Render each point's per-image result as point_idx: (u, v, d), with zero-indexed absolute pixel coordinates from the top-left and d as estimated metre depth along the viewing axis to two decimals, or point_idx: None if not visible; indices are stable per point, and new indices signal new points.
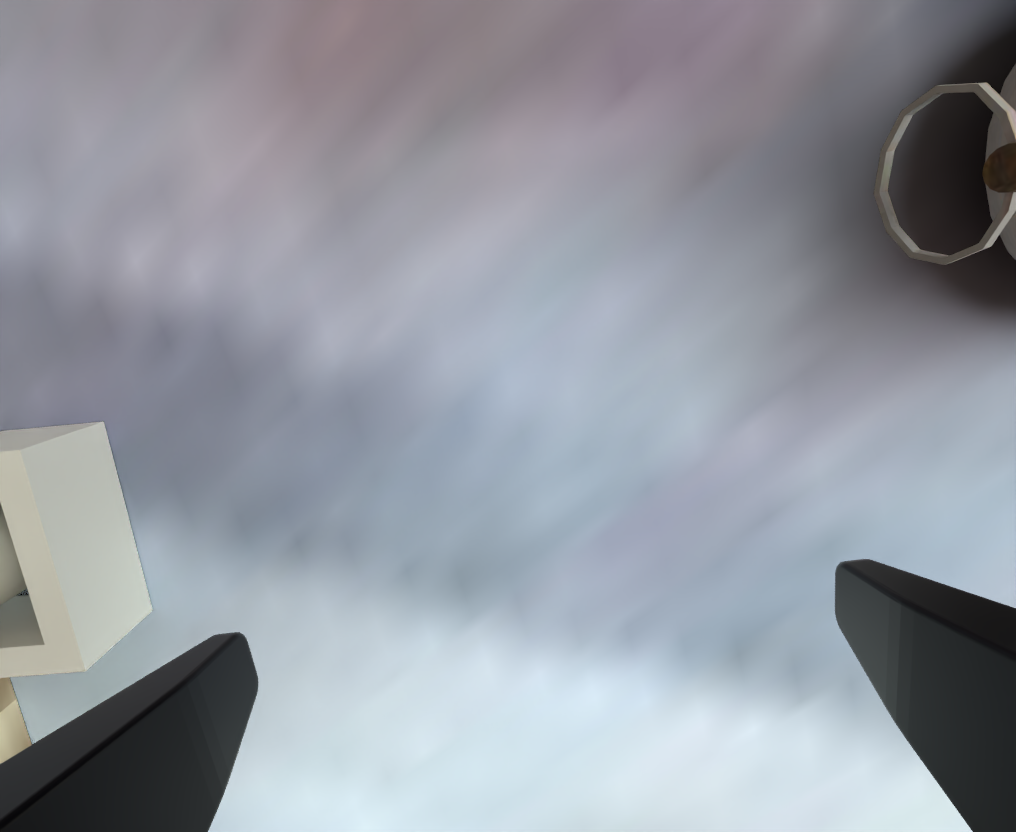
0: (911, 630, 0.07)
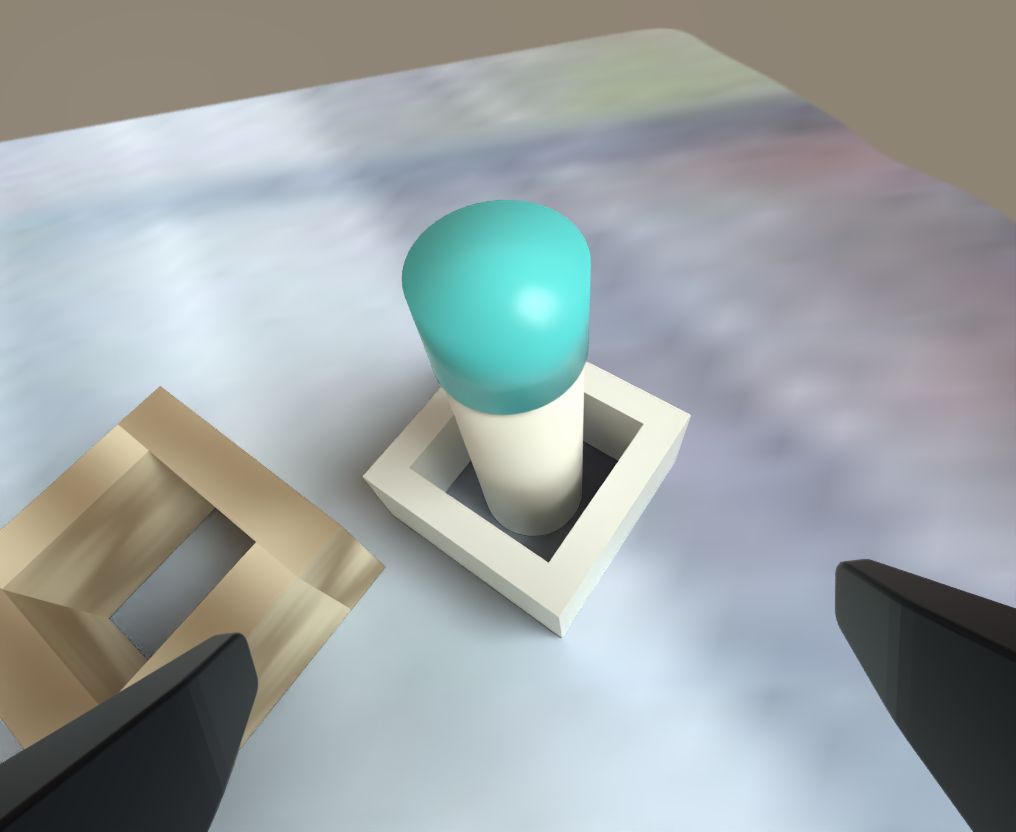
0: (911, 630, 0.07)
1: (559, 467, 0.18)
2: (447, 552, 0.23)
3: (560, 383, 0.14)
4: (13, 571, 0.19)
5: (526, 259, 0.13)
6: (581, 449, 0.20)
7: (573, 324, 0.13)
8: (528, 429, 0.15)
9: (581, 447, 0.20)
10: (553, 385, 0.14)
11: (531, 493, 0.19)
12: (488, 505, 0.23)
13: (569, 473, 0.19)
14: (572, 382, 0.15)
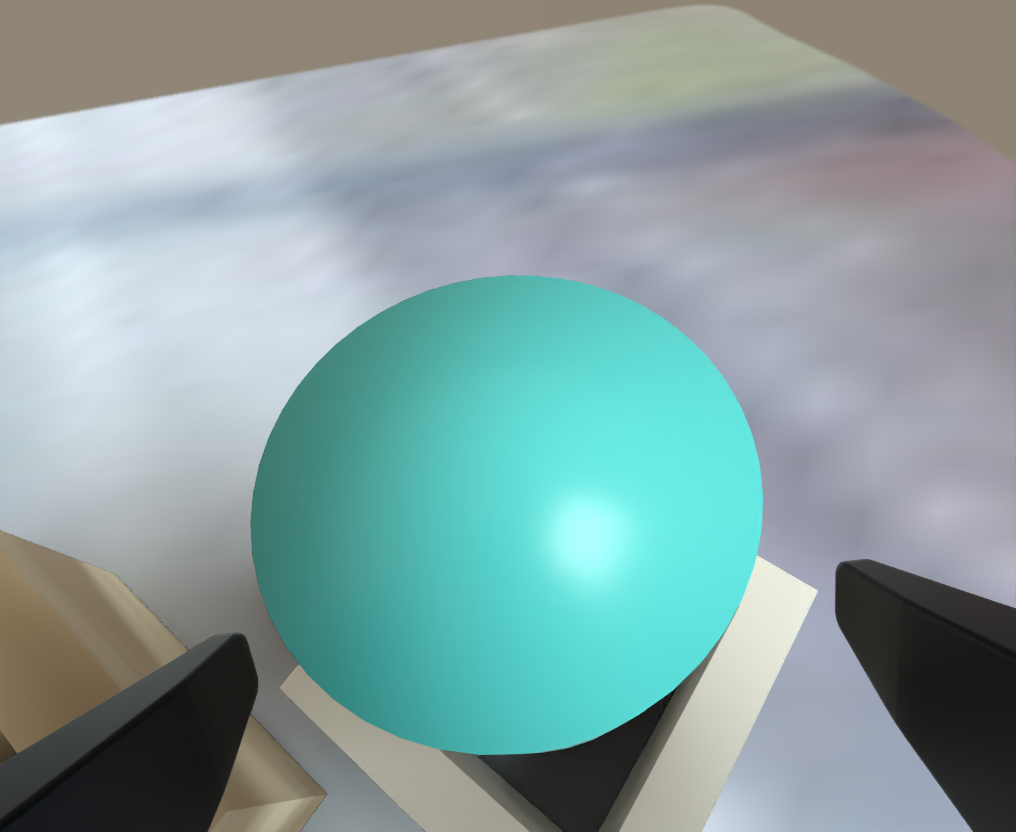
0: (911, 630, 0.07)
1: None
2: None
3: None
4: None
5: (581, 448, 0.05)
6: None
7: None
8: None
9: None
10: None
11: None
12: None
13: None
14: None
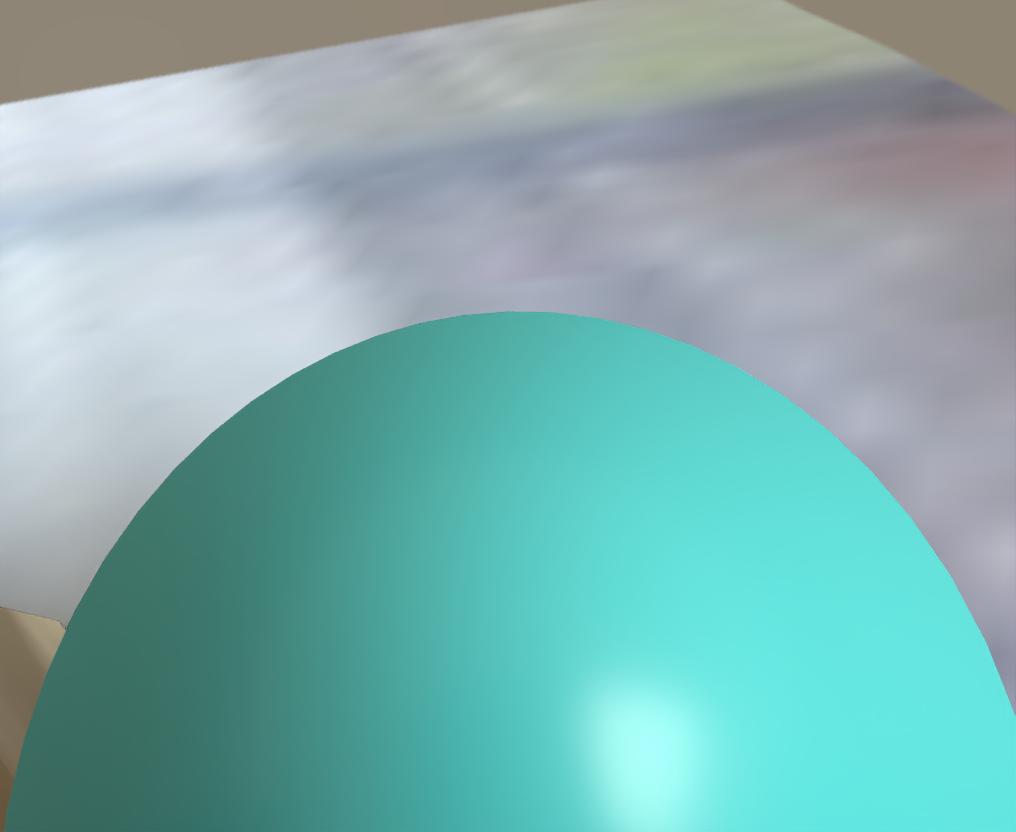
0: None
1: None
2: None
3: None
4: None
5: (647, 664, 0.03)
6: None
7: None
8: None
9: None
10: None
11: None
12: None
13: None
14: None
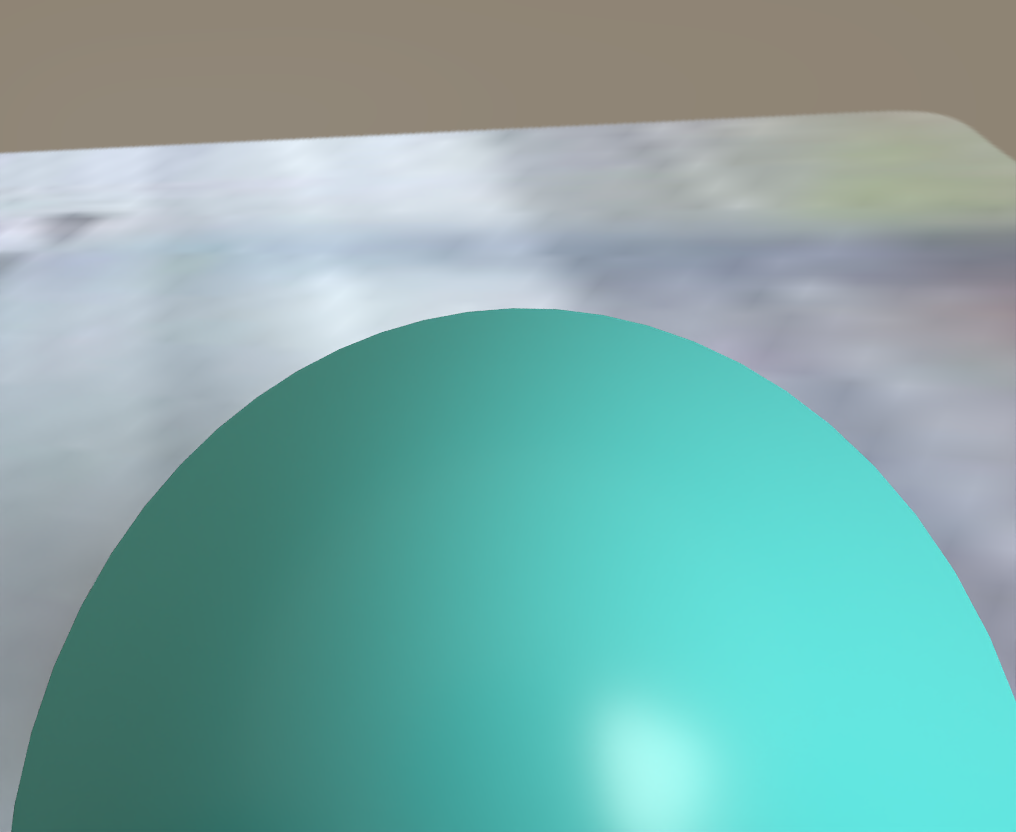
0: None
1: None
2: None
3: None
4: None
5: (650, 657, 0.03)
6: None
7: None
8: None
9: None
10: None
11: None
12: None
13: None
14: None
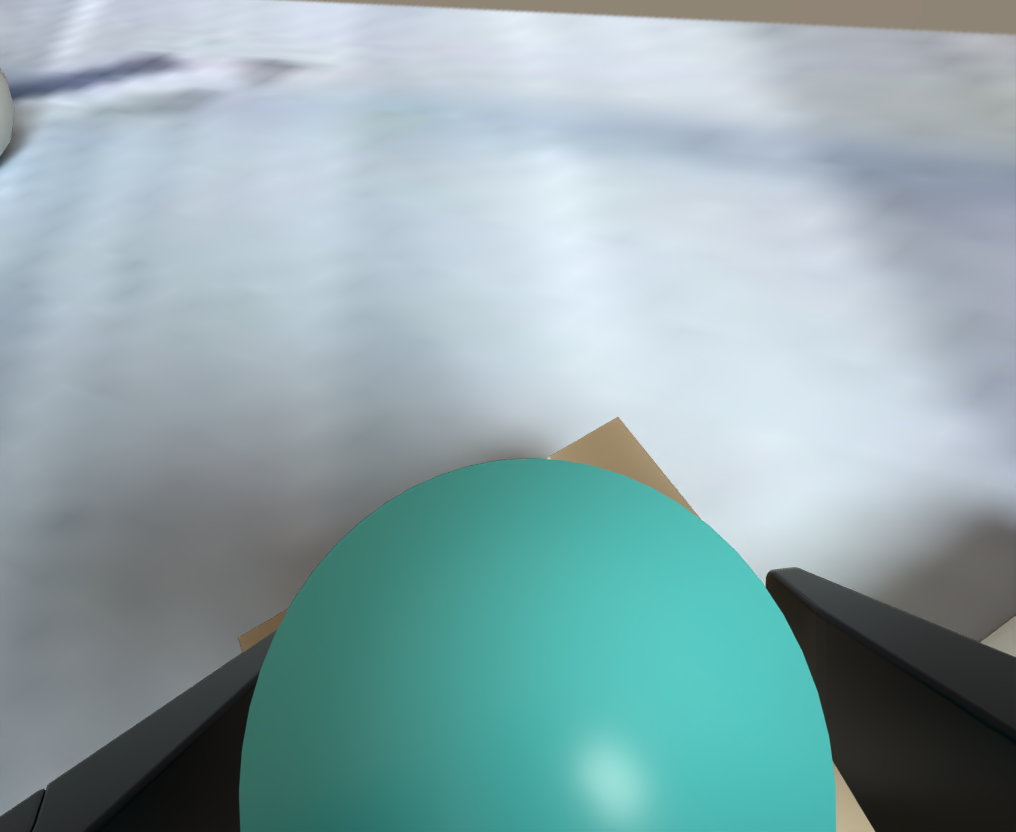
0: (825, 639, 0.07)
1: None
2: None
3: None
4: None
5: (619, 703, 0.04)
6: None
7: None
8: None
9: None
10: None
11: None
12: None
13: None
14: None
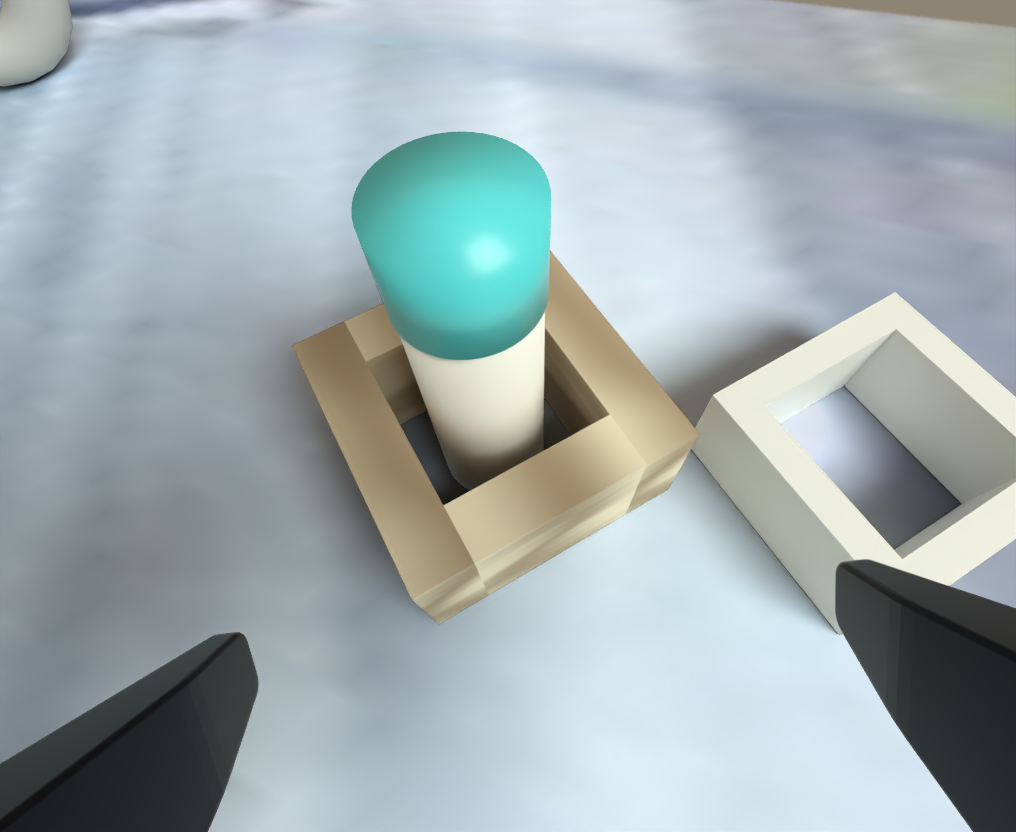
0: (911, 630, 0.07)
1: (517, 422, 0.18)
2: (742, 502, 0.22)
3: (516, 329, 0.14)
4: (377, 350, 0.20)
5: (484, 193, 0.12)
6: (541, 407, 0.19)
7: (530, 264, 0.12)
8: (484, 378, 0.15)
9: (541, 404, 0.19)
10: (509, 331, 0.13)
11: (488, 449, 0.19)
12: (447, 463, 0.23)
13: (528, 431, 0.19)
14: (530, 329, 0.14)
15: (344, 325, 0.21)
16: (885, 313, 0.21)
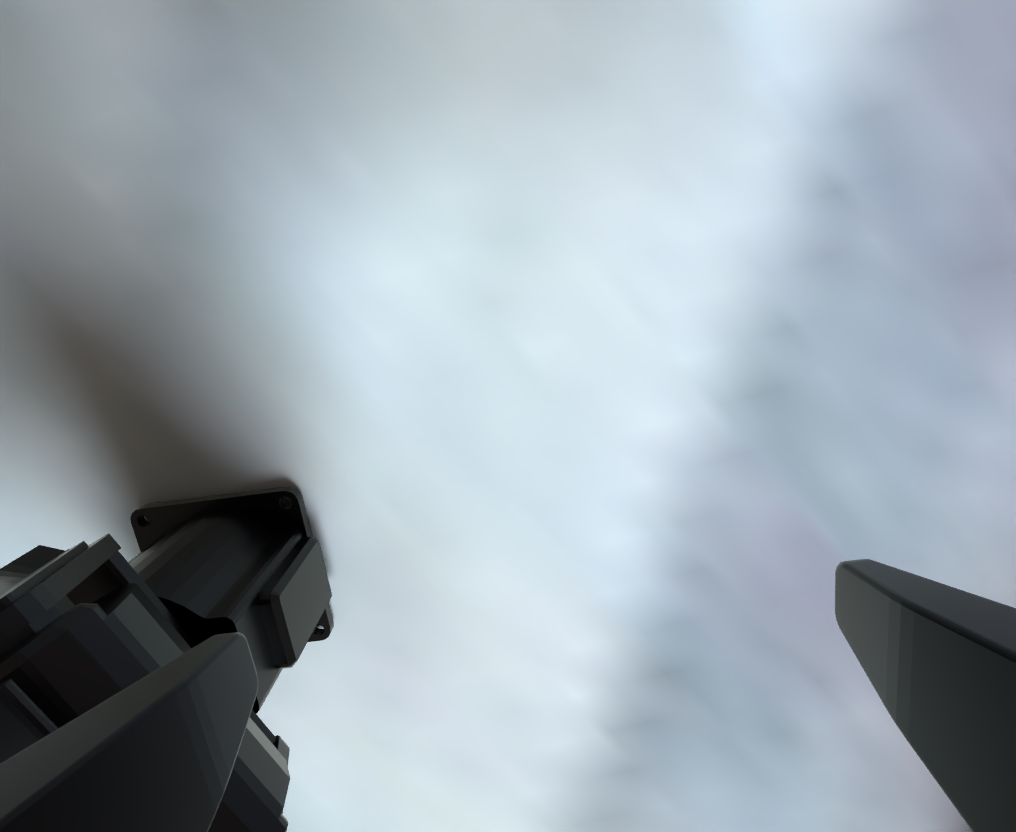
0: (911, 630, 0.07)
1: None
2: None
3: None
4: None
5: None
6: None
7: None
8: None
9: None
10: None
11: None
12: None
13: None
14: None
15: None
16: None
